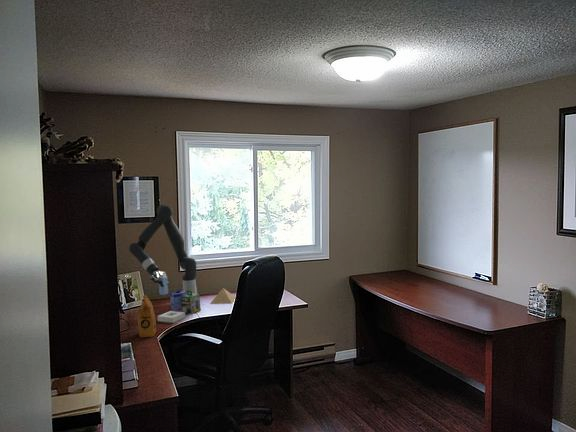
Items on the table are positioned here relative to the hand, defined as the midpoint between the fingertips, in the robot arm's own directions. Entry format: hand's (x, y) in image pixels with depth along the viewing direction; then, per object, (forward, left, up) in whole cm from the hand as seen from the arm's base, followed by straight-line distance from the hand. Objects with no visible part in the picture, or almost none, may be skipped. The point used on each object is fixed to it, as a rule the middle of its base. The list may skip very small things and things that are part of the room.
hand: (165, 285), depth 295 cm
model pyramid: (-42, +17, -21) cm, 50 cm away
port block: (+8, +10, -20) cm, 23 cm away
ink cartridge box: (-12, 0, -20) cm, 24 cm away
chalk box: (-11, +11, -20) cm, 25 cm away
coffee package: (+35, +15, -20) cm, 43 cm away
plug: (0, -2, -6) cm, 6 cm away
